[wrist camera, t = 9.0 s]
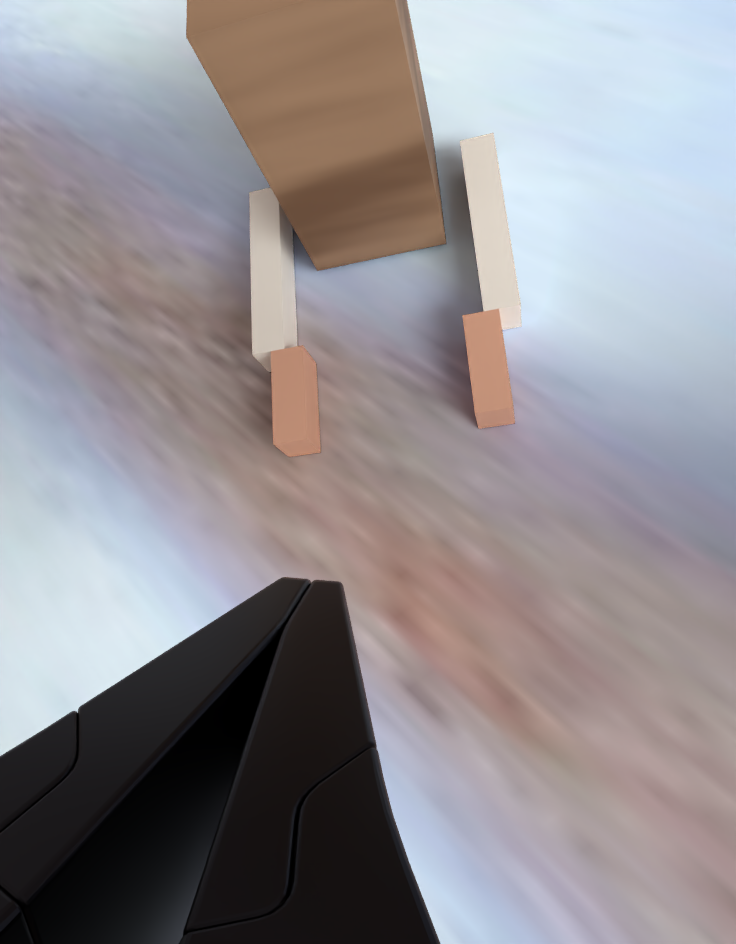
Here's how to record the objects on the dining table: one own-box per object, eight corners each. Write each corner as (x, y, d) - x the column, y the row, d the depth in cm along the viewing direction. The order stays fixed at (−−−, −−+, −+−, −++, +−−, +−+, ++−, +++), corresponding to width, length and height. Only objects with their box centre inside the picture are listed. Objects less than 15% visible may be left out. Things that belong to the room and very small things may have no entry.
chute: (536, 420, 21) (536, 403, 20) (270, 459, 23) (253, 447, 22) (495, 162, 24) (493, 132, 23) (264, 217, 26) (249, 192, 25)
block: (446, 243, 24) (389, -26, 14) (317, 270, 25) (186, 37, 15) (433, 135, 25) (373, -173, 16) (311, 165, 26) (189, -108, 17)
